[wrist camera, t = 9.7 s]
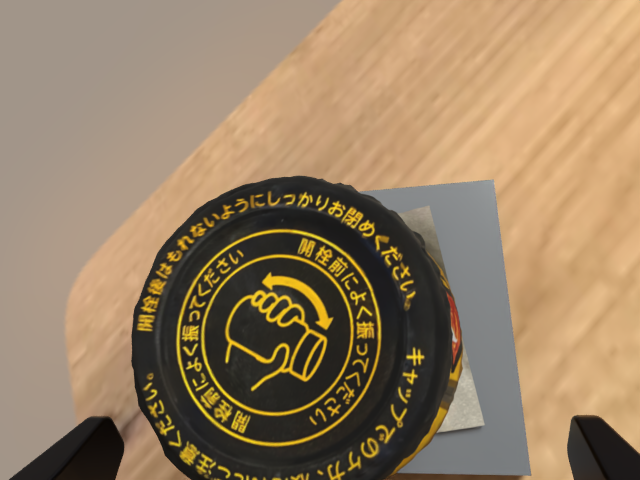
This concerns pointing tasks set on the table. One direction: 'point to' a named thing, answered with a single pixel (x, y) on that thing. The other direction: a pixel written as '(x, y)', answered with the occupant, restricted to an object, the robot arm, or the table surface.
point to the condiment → (300, 337)
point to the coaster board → (474, 328)
